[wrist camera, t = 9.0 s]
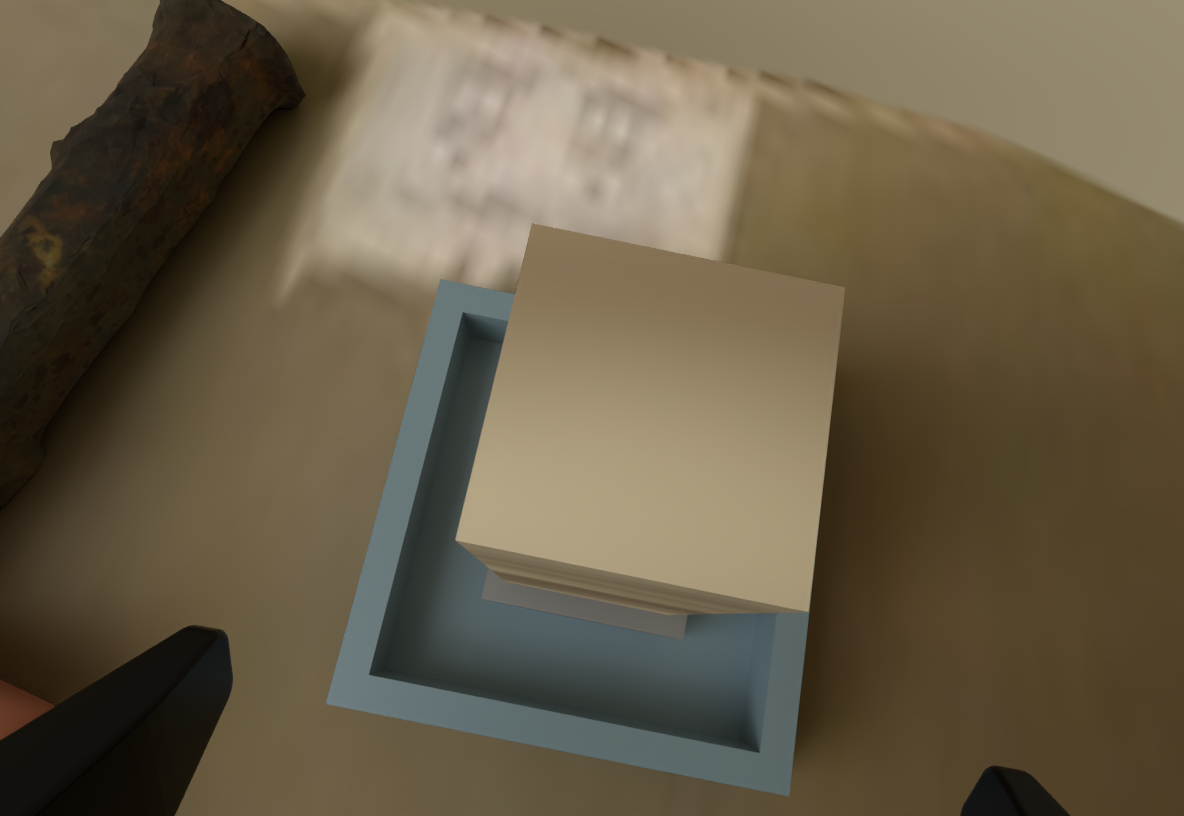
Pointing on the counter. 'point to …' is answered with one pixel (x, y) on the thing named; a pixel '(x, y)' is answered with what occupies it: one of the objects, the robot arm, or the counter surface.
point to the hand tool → (124, 205)
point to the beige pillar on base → (653, 437)
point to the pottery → (18, 708)
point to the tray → (542, 615)
